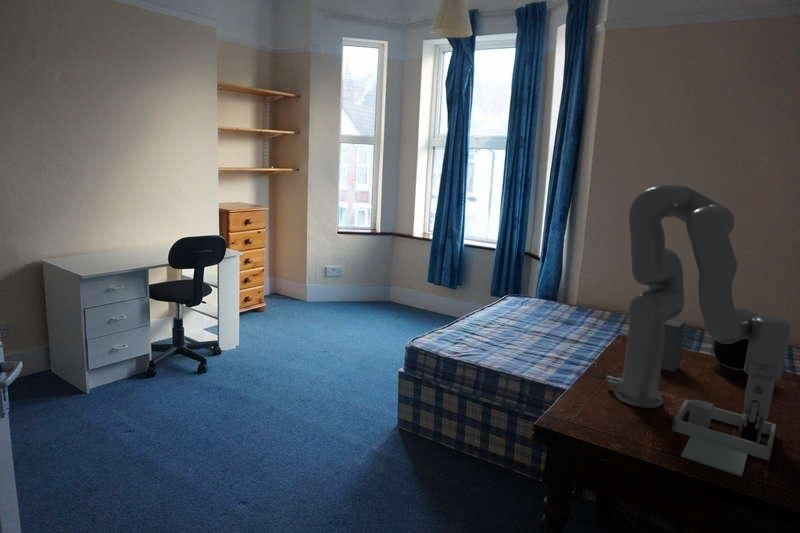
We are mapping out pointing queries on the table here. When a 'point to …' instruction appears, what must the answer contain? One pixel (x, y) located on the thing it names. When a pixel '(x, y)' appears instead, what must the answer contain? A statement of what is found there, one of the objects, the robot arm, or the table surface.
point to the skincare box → (672, 345)
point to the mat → (715, 455)
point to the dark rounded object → (731, 360)
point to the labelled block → (755, 425)
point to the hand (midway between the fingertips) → (749, 437)
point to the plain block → (700, 413)
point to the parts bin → (723, 438)
